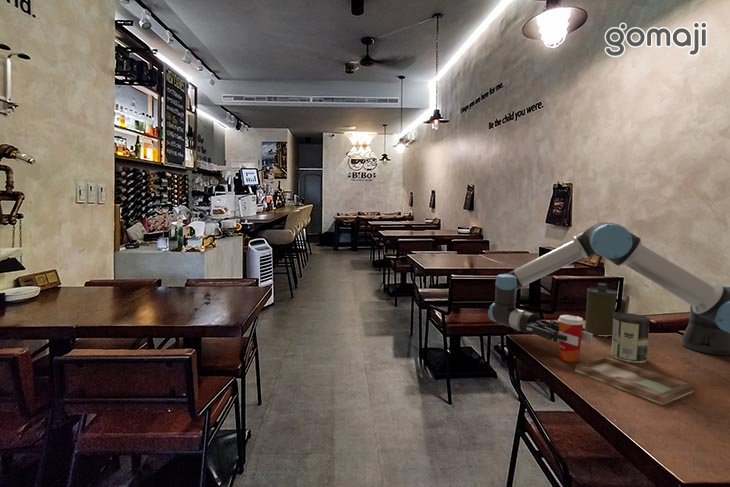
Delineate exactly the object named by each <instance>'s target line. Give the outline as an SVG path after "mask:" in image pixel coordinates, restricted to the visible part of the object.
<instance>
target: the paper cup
mask: <svg viewBox="0 0 730 487" xmlns="http://www.w3.org/2000/svg"><path fill="white" fill-rule="evenodd" d="M557 322H559V332H563V333H566V334H570V335H573V336H576V337H579V339H578V346H575V345H572V344H569V343H566V342H563V341H560V340H558V352H559V353H558V354H559V356H558V357H559V359H560V360H561V361H564V362H567V363H568V362H569V363H578V361H579V359H580V358H579V357H580V350H581V342H582V340H581V336H582V331H583V327H584V324H585V322H584V318H582V317H580V316H576V315H570V314H561V315H559V317H558V319H557Z"/></svg>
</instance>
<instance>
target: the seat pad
mask: <svg viewBox="0 0 730 487" xmlns="http://www.w3.org/2000/svg"><path fill="white" fill-rule="evenodd" d="M638 384H641V385H644V386H646V387H649V388H652V389H655V390H657V391H660V392H663V393H664V392H666V391H669V390H671V388H668V387H665V386H662V385H660V384H657V383H654V382H651V381H648V380H645V381H643V382H640V383H638Z"/></svg>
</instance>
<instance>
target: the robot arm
mask: <svg viewBox="0 0 730 487" xmlns="http://www.w3.org/2000/svg"><path fill="white" fill-rule="evenodd" d="M595 255H599V256H600V257H602V258H604V259H606V260H608V261H609V262H611V263H612V264H614V265H616V266H618V267H619V266H620V267H621V266H626V267H628V268H629V269H631V270H633V271H634V272H636V273H637V274H640V275H641V276H642V277H645V278H646V279H648V280H649V281H651V282H652V283H654V284H656V285H658V286H659V287H661V288H662V289H664V290H666V291H668V292H669V293H670V294H672V295H674V296H675V297H677V298H679V299H681V300H682V301H684V302H685V303H687V304H688V305H690V307H689V320H688V325H687V327H686V329H685V331H684V333H683V335H682V336H681V341H680V342H681V343H680V344H681V345H682V346H683V347H684V348H687V349H689V350H692V351H696V352H700V353H705V354H708V355H709V354H710V355H714V356H715V355H717V356H730V286H725V285H720V284H710V283H709V282H706V281H704V280H703V279H701V278H699V277H698V276H696V275H694V274H693V273H691V272H689V271H687V270H686V269H684V268H683V267H681V266H679V265H677V264H675V263H674V262H672V261H670V260H669V259H667V258H665V257H663V256H661V254H658V253H657V252H655V251H654V250H651V249H650V248H649V247H646V246H645V245H644V244H643V243H642V239H641V237H639V236H637V235H635V234H633V233H632V232H630V231H629V230H628V229H627V228H626V227H625V226H623V225H621V224H618V223H614V222H598V223H595V224H593V225H591V226H590V227H589V228H588V227H587V228H586V229H585V230H583V231H582V232H580V233H579V234H576V235H574V236H573V238H572V240H571V241H569V242H566V243H564V244H563V245H561V246H559V247H557V248H555V249H553V250H551V251H549V252H547V253H545V254H543V255H541V256H539V257H537V258H535V259H533V260H531V261H529V262H528V263H525V264H523V265H521V266H519V267H517V268H515V269H513V270H511V271H509V272H508V273H503V274H502V273H501V274H498V275H496V278H495V293H494V294H495V295H494V297H495V300H494V302H493V303H492V304H491V305H489V308H488V311H487V314H488V318H489V320H490V321H493V322H495V323H497V324H499V325H502V326H506V327H508V328H512V329H515V330H516V331H517V332H519V331H521V332H524V333H526V334H529V335H535V336H539V337H541V338H544V339H546V340H549V341H552V340H553V342H554V343H557V342H558V341H559V340H560V341H563V342H566V343H569V344H572V345H575V346H578V339H579V337H576V336H573V335H570V334H566V333H563V332H559V321H555V320H553V319H551V320H550V319H549V320H550V321H547V320H545V319H541V317H540V316H539V314H537V313H534V312H532V311H531V312H530V311H527V310H524V309H519V308H516V299H517V298H516V297H517V296H516V295H517V290H519V289H521V288H523V287H524V286H527V285H529V284H530V283H531V284H532V283H533V282H535V281H538V280H539V279H541V278H544V277H546V276H547V275H550V274H552V273H554V272H555V271H558V270H560V269H562V268H565V267H566V266H569V265H570V264H572V263H574V262H577V261H578V260H580V259H582V258H585V259H589V258H591V257H593V256H595ZM593 336H594V335H593V334H591V333H588V332H585V331H583V330H582V336H581V341H585V342H588V343H593Z"/></svg>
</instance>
